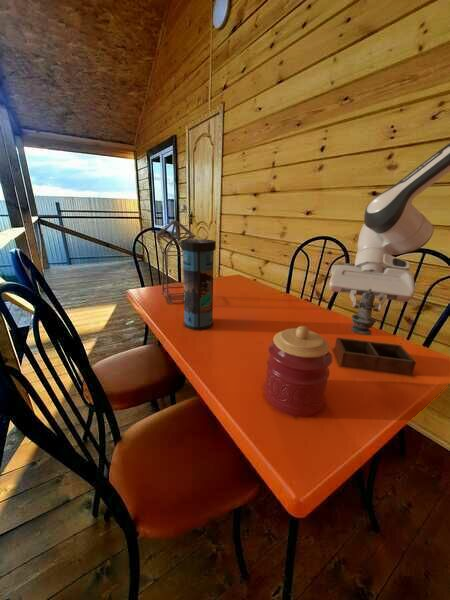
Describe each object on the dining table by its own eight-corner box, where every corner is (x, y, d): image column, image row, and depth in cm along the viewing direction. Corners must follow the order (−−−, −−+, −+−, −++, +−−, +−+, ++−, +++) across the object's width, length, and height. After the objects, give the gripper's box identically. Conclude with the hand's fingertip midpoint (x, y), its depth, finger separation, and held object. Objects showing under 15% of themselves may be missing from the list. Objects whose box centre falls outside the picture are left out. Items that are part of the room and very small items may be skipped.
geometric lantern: (196, 306, 110) (196, 222, 99) (159, 308, 107) (154, 221, 95) (192, 295, 125) (191, 220, 113) (159, 296, 121) (155, 219, 109)
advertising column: (191, 334, 85) (189, 243, 75) (178, 322, 94) (175, 239, 84) (219, 327, 90) (222, 242, 81) (205, 316, 99) (205, 238, 89)
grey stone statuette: (377, 332, 69) (387, 290, 65) (365, 337, 66) (376, 293, 62) (356, 324, 73) (365, 284, 69) (344, 328, 70) (353, 287, 66)
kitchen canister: (280, 373, 66) (288, 310, 60) (331, 395, 58) (345, 326, 53) (252, 399, 57) (258, 327, 51) (309, 430, 49) (323, 350, 43)
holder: (396, 358, 75) (400, 344, 73) (411, 377, 66) (416, 362, 65) (334, 350, 78) (336, 337, 76) (340, 367, 69) (343, 352, 68)
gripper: (333, 255, 73) (325, 296, 68) (418, 263, 65) (416, 310, 60) (331, 267, 79) (323, 307, 74) (409, 276, 71) (407, 321, 66)
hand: (366, 309), depth 67 cm, fingers closed on grey stone statuette, 3 cm apart
